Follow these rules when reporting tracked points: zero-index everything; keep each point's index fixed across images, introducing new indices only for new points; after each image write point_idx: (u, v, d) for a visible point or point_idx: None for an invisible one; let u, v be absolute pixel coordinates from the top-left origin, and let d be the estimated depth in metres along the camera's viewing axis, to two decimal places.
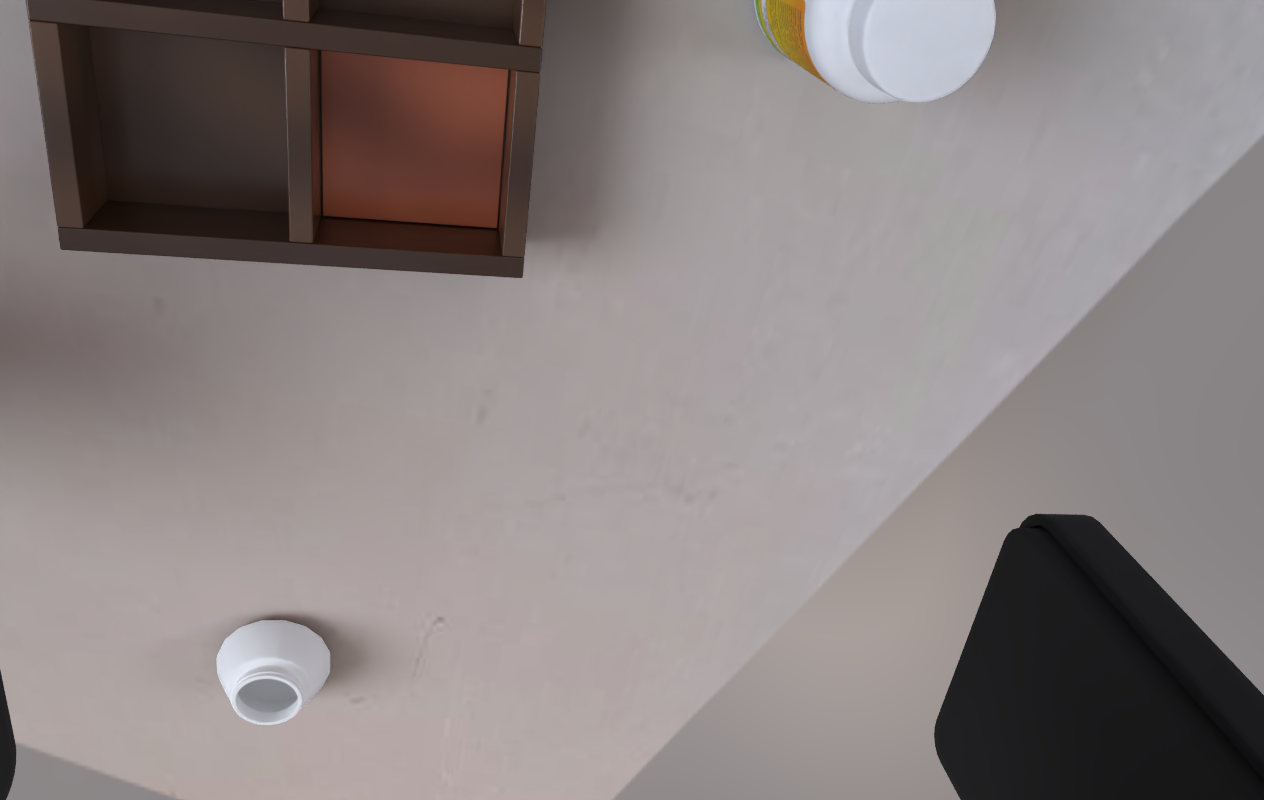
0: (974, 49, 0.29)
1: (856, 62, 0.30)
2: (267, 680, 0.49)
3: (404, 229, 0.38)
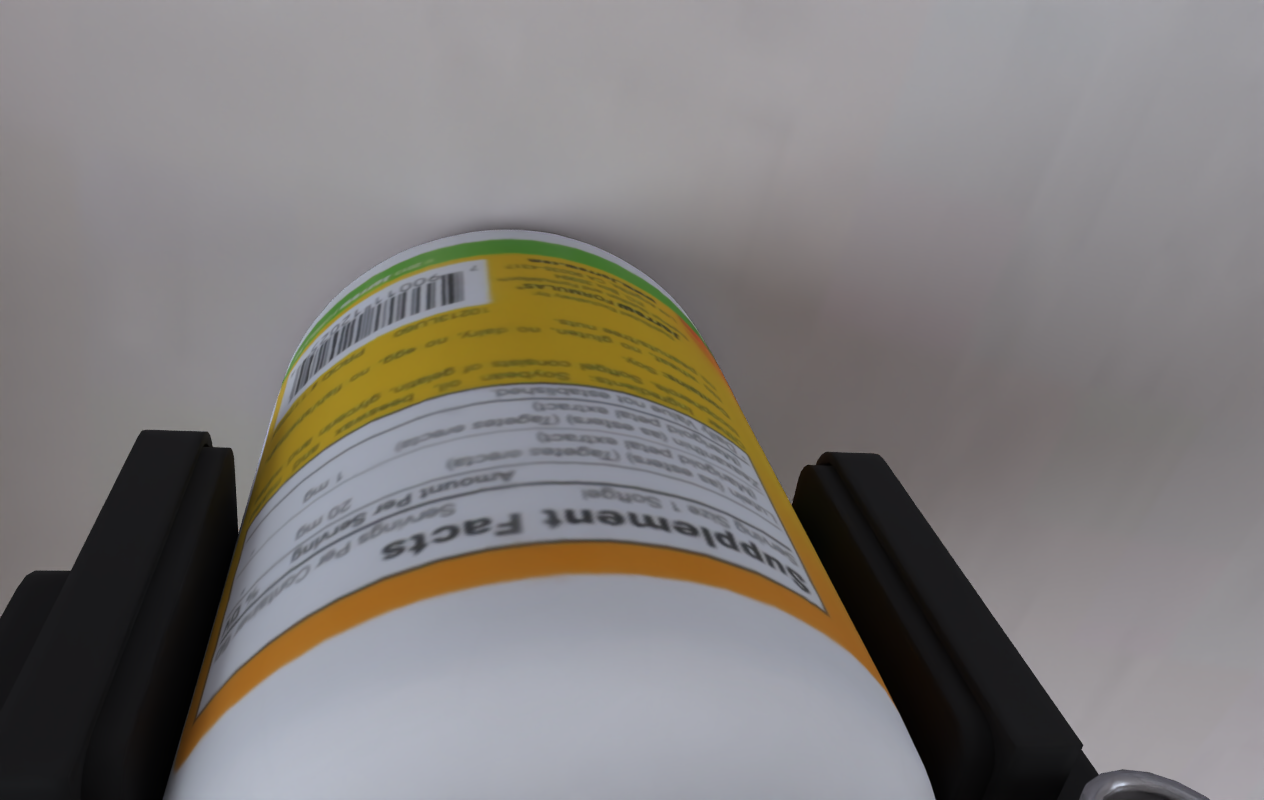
0: None
1: None
2: None
3: None
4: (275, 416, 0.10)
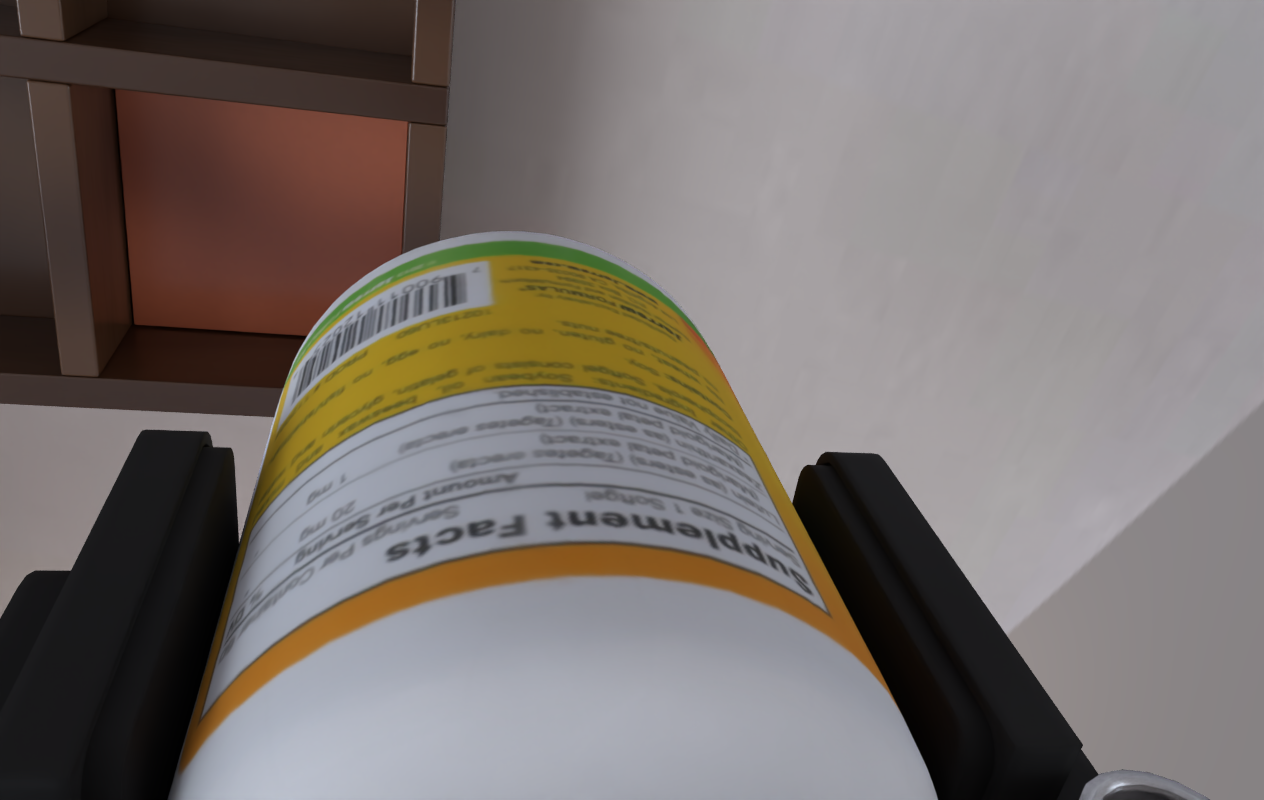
0: None
1: None
2: None
3: (255, 346, 0.25)
4: (278, 418, 0.10)
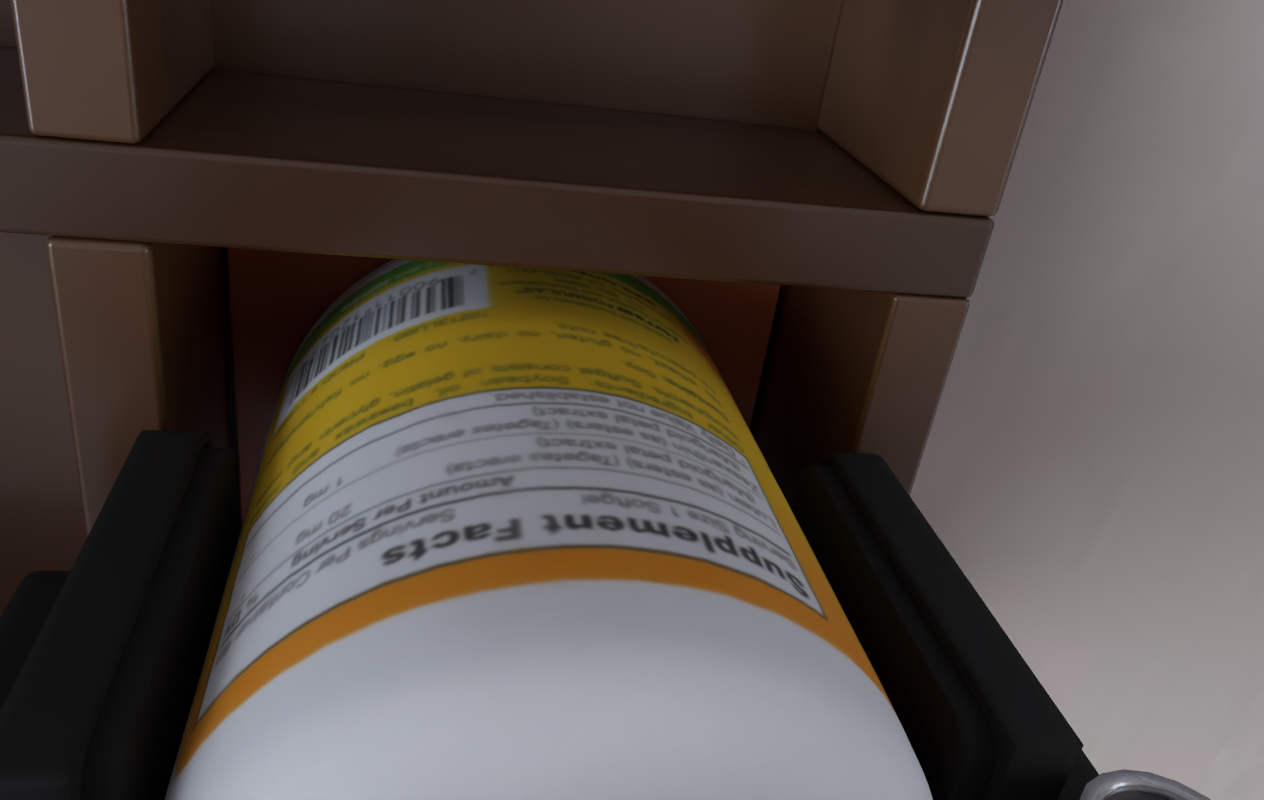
0: None
1: None
2: None
3: None
4: (275, 419, 0.10)
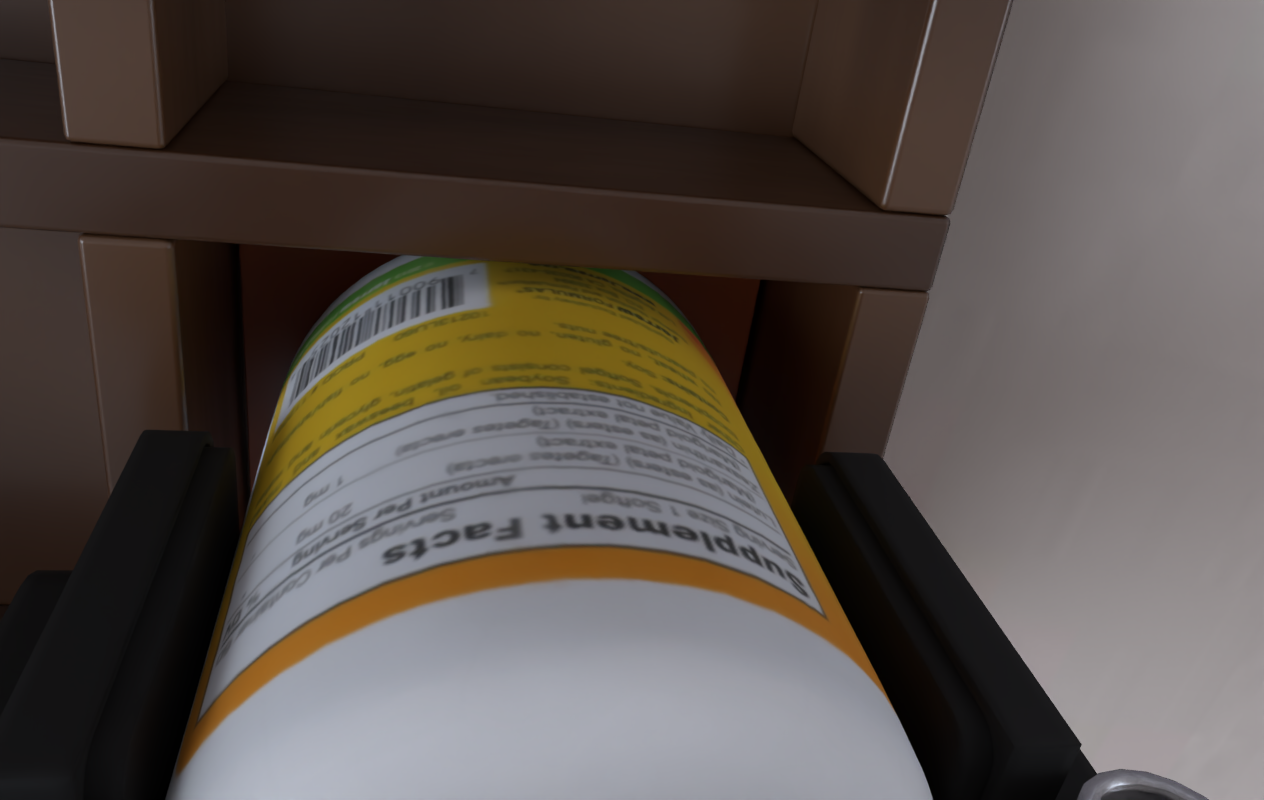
0: None
1: None
2: None
3: None
4: (275, 419, 0.10)
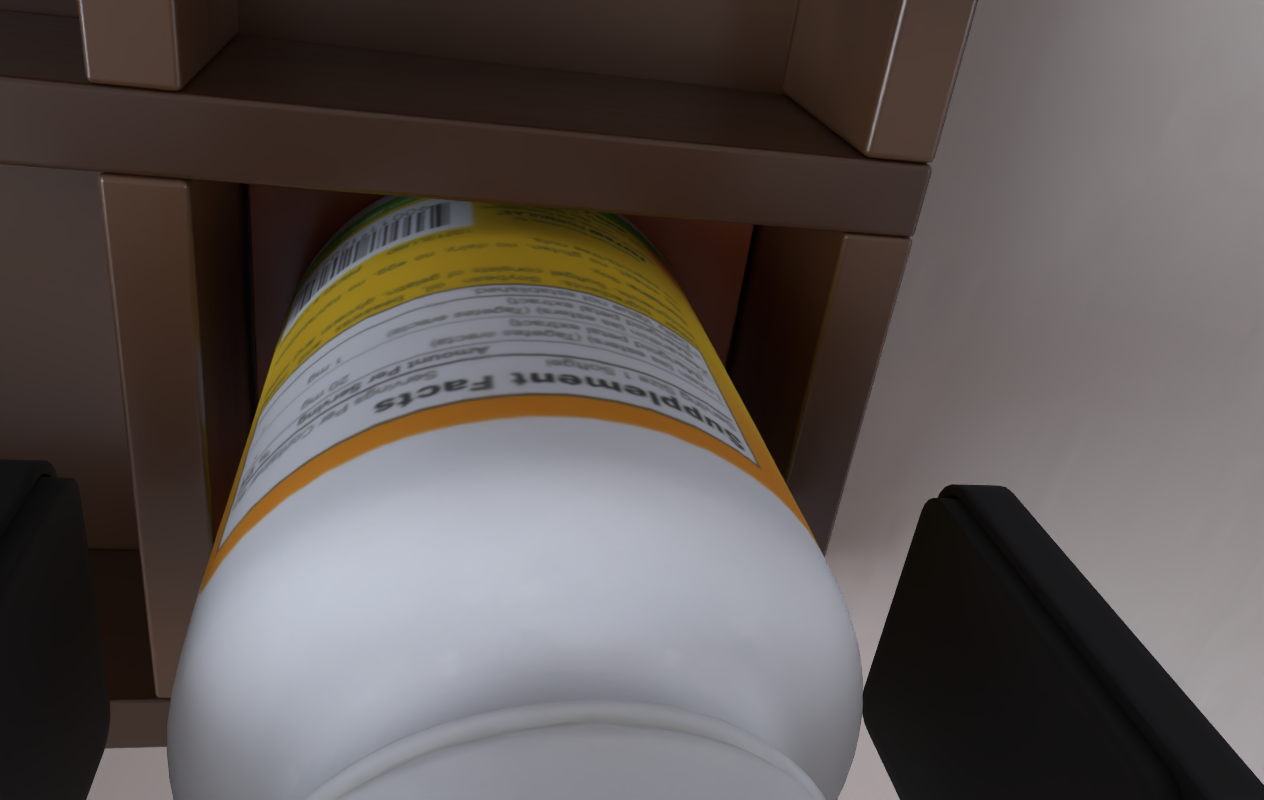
0: None
1: None
2: None
3: None
4: (282, 333, 0.11)
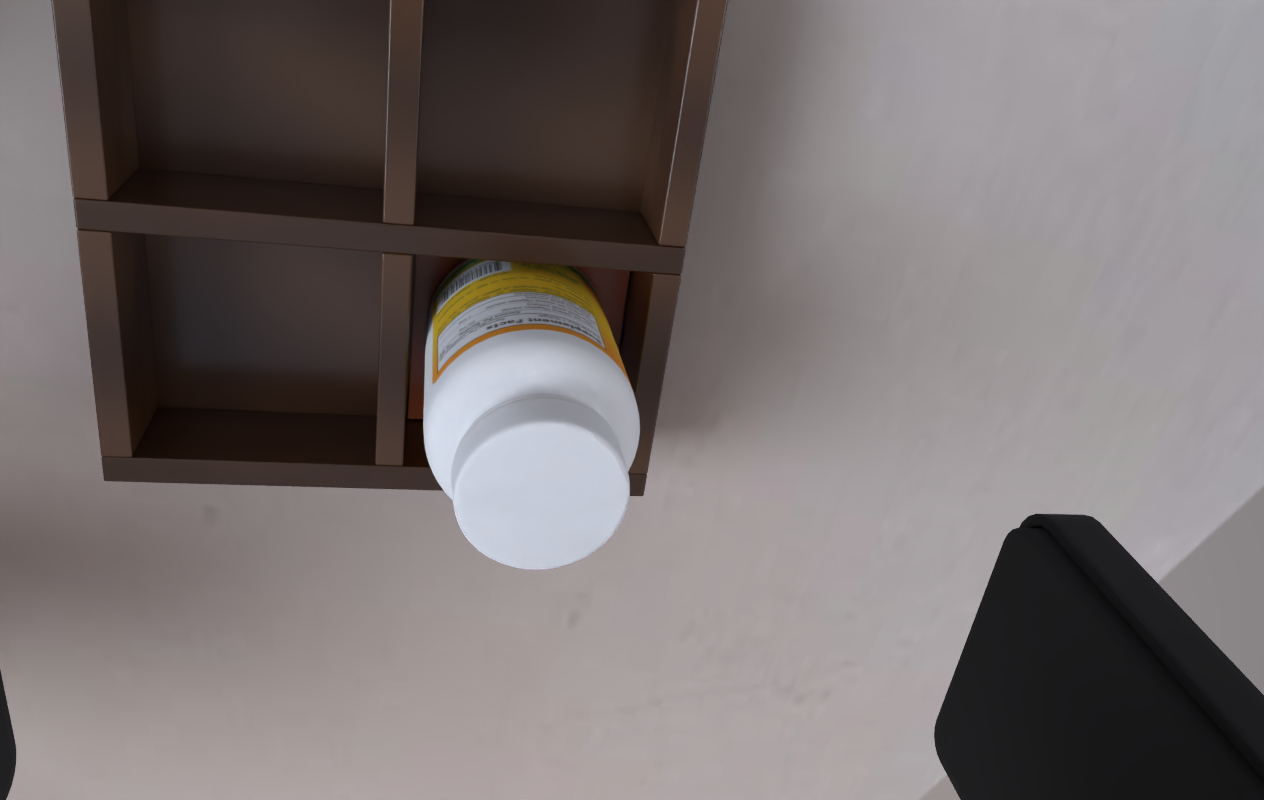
0: (605, 512, 0.23)
1: None
2: None
3: None
4: (435, 311, 0.28)
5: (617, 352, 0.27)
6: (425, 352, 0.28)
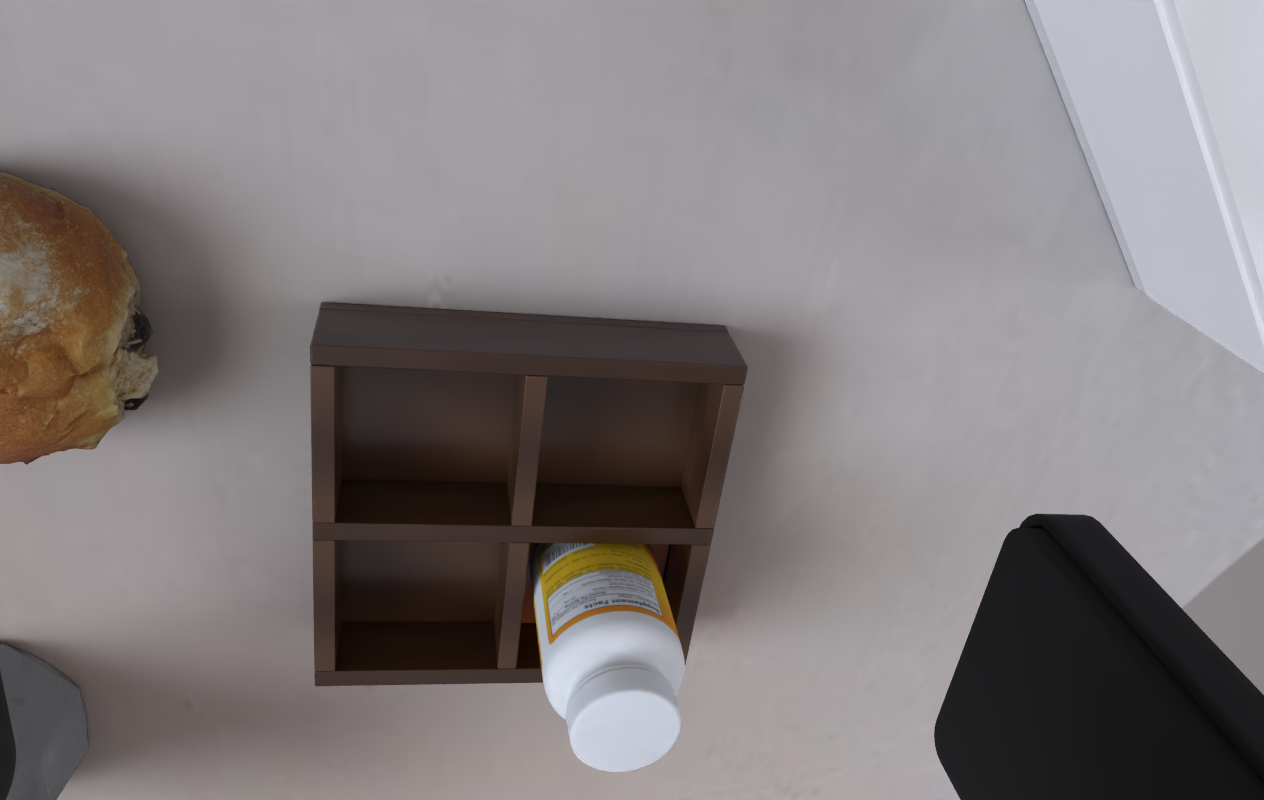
0: (665, 738, 0.36)
1: None
2: None
3: None
4: (541, 569, 0.41)
5: (668, 609, 0.39)
6: (535, 598, 0.41)
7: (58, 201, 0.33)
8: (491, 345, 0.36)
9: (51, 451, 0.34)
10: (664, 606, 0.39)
